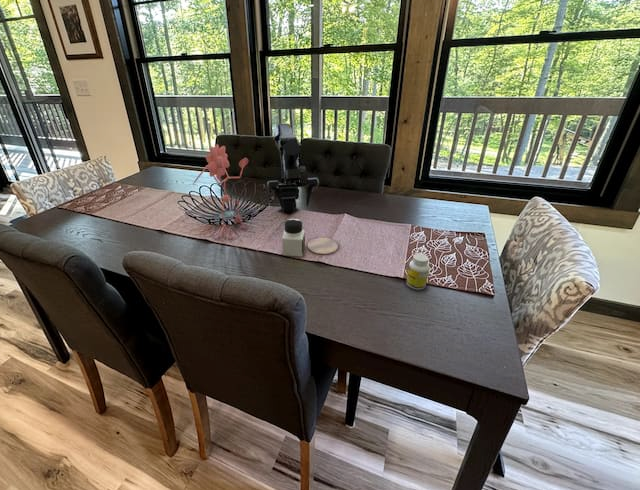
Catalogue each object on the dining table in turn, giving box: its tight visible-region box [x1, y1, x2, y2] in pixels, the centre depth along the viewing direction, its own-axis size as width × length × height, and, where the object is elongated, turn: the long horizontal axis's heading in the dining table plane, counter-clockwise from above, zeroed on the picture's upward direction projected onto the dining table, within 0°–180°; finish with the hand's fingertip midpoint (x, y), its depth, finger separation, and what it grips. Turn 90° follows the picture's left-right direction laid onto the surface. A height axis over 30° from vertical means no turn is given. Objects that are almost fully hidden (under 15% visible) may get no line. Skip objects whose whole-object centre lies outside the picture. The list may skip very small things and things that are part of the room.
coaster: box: [306, 237, 339, 255], centre depth 114 cm, size 11×11×1 cm
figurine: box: [193, 143, 249, 240], centre depth 120 cm, size 15×26×35 cm, turn 149°
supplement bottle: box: [405, 252, 431, 291], centre depth 90 cm, size 5×5×10 cm
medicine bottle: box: [281, 218, 306, 258], centre depth 109 cm, size 7×7×12 cm
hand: (294, 207), depth 113 cm, fingers open, 9 cm apart
